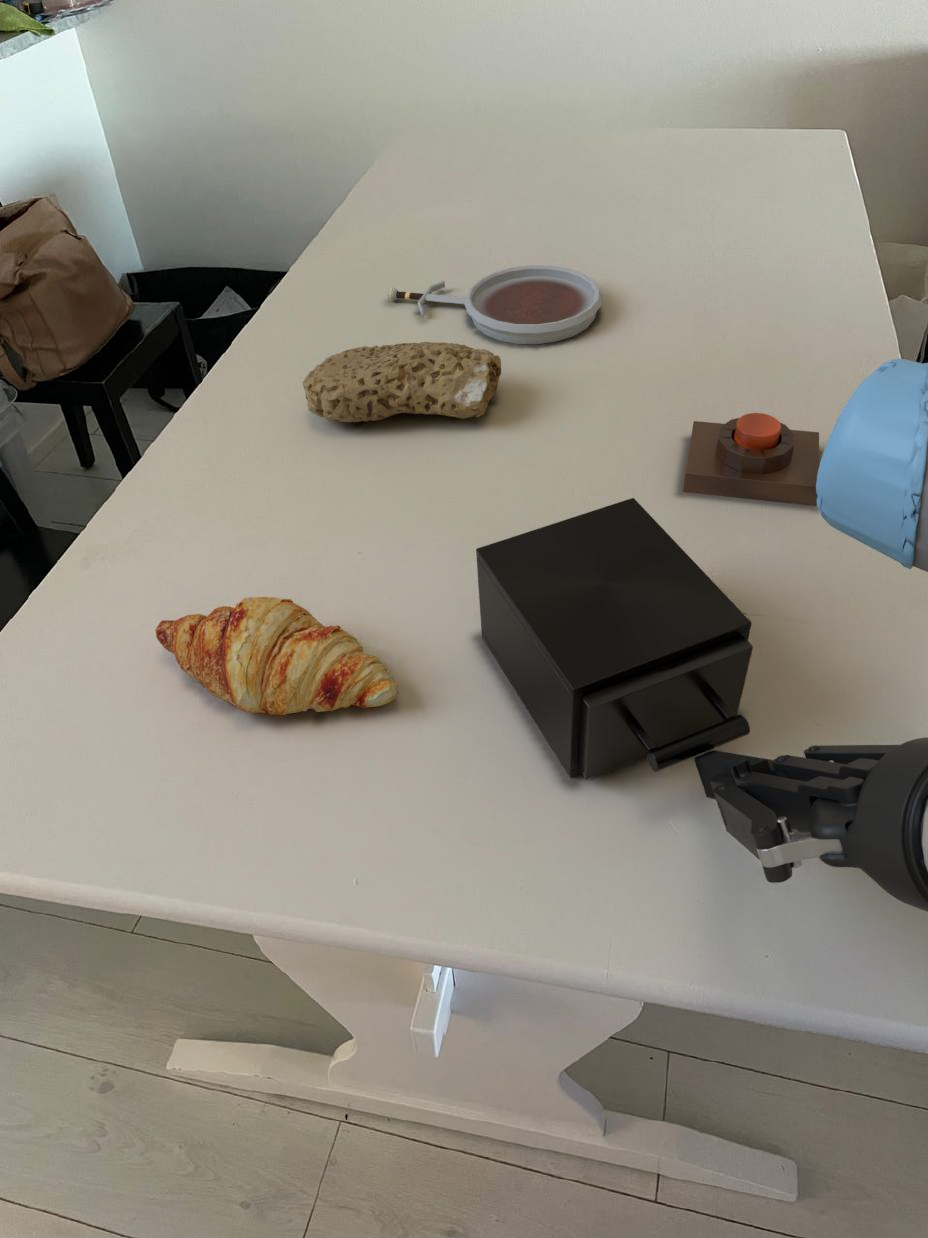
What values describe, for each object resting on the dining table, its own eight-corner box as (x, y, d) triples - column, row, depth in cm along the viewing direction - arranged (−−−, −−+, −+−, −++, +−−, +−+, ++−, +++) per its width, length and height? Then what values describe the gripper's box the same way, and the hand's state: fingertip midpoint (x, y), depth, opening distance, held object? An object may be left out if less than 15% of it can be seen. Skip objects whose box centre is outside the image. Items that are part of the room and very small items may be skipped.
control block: (814, 450, 92) (823, 416, 89) (814, 506, 86) (823, 470, 83) (691, 439, 94) (695, 405, 92) (682, 492, 88) (687, 457, 86)
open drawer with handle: (771, 762, 65) (792, 689, 59) (616, 827, 62) (623, 757, 56) (634, 597, 77) (641, 524, 72) (499, 645, 74) (495, 573, 69)
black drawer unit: (732, 713, 69) (752, 622, 62) (570, 778, 66) (573, 690, 59) (625, 586, 80) (633, 497, 73) (481, 637, 76) (475, 548, 70)
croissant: (416, 707, 76) (426, 615, 73) (368, 757, 67) (377, 653, 64) (190, 653, 81) (192, 565, 79) (117, 692, 72) (116, 595, 69)
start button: (778, 430, 88) (781, 414, 87) (777, 454, 86) (780, 438, 84) (735, 426, 89) (737, 410, 88) (732, 449, 87) (735, 434, 85)
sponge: (500, 391, 105) (334, 346, 107) (509, 337, 99) (332, 290, 100) (469, 474, 98) (292, 425, 100) (477, 423, 92) (287, 370, 93)
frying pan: (408, 254, 125) (615, 266, 117) (411, 275, 127) (614, 288, 119) (361, 313, 113) (586, 330, 106) (364, 335, 115) (585, 353, 108)
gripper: (889, 987, 36) (641, 865, 59) (1139, 861, 39) (810, 791, 62) (829, 807, 36) (603, 754, 59) (1084, 694, 39) (775, 686, 62)
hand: (710, 773), depth 61 cm, fingers closed
